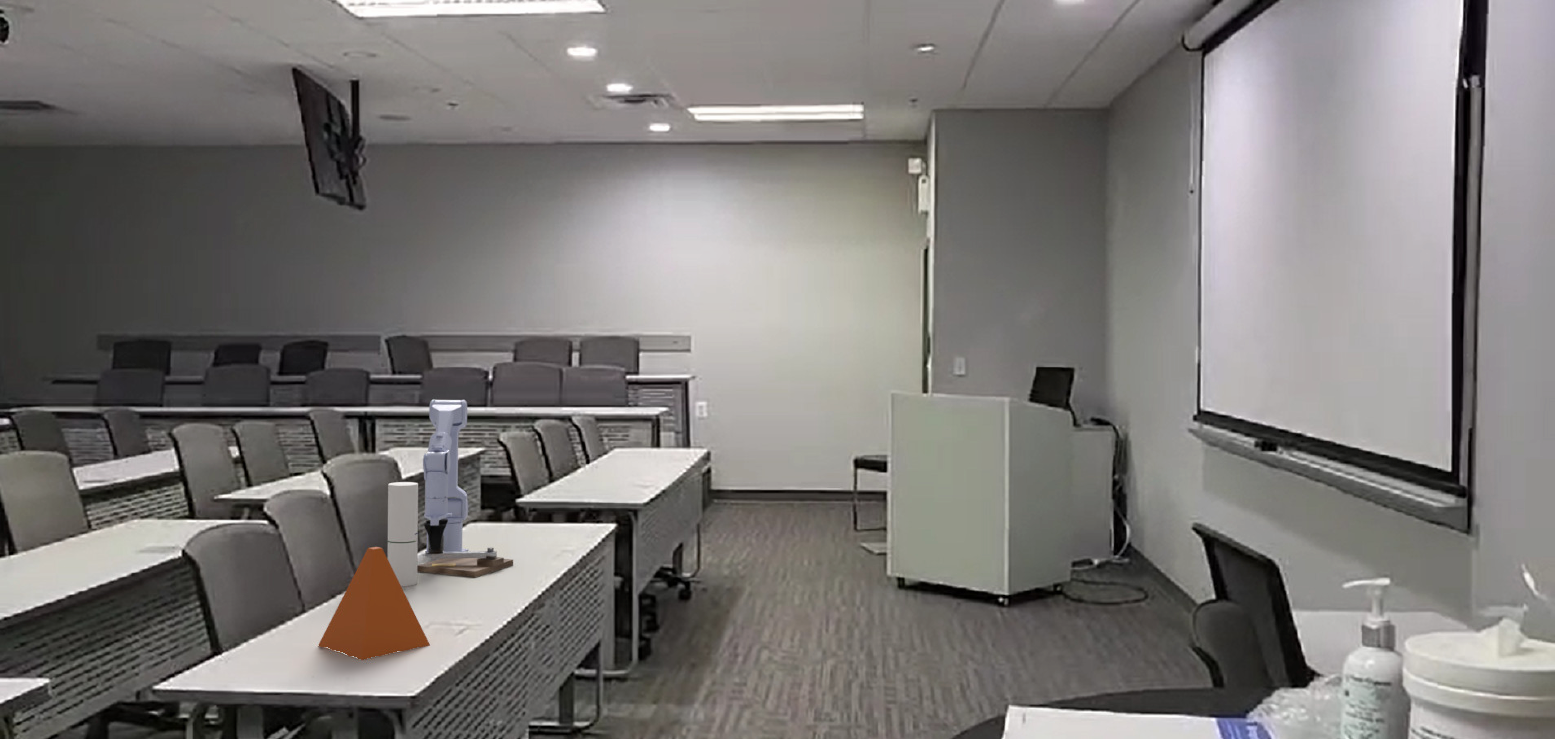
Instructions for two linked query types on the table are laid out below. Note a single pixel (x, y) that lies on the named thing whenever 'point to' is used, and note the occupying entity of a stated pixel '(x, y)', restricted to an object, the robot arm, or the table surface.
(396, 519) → the cylindrical container
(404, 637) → the pyramid
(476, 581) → the table surface
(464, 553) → the lever
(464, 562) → the cracker board
